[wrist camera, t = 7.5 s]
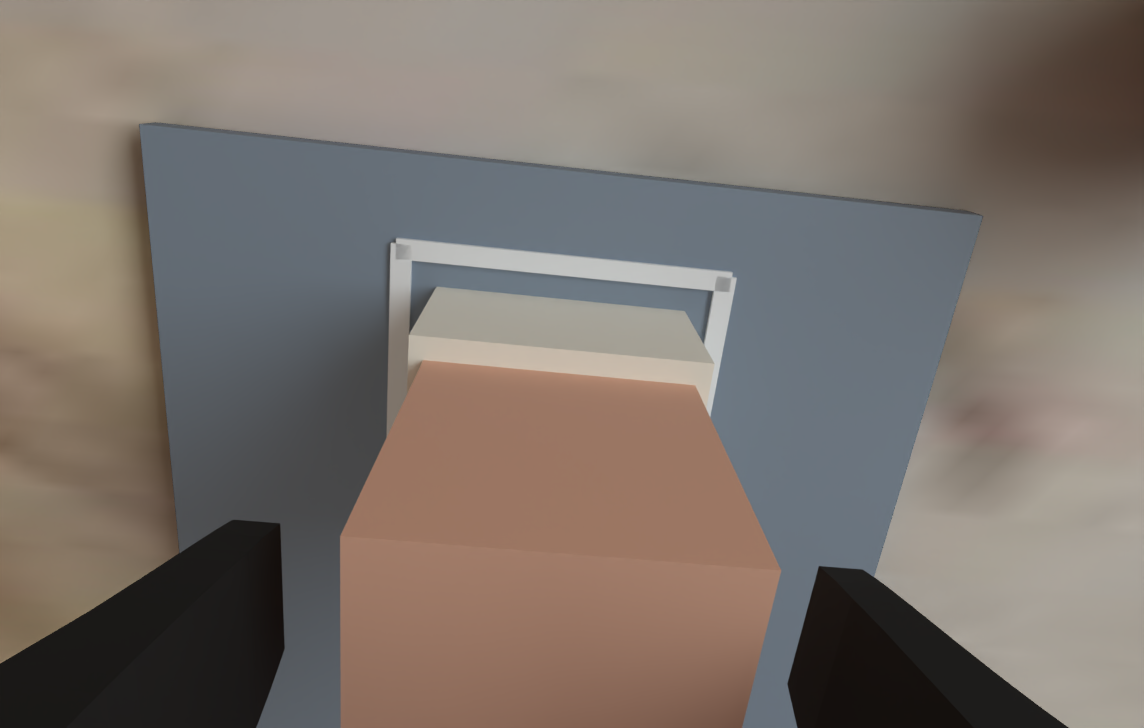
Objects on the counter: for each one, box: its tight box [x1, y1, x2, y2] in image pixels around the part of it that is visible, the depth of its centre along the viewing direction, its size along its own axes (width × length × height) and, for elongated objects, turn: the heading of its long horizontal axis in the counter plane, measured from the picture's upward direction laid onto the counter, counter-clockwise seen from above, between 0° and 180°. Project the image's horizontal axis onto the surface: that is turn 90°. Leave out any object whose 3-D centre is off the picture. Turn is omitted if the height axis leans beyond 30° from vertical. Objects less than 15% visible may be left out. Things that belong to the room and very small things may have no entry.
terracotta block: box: [340, 360, 781, 728], centre depth 11 cm, size 4×4×5 cm
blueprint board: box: [139, 122, 983, 728], centre depth 16 cm, size 20×16×4 cm
